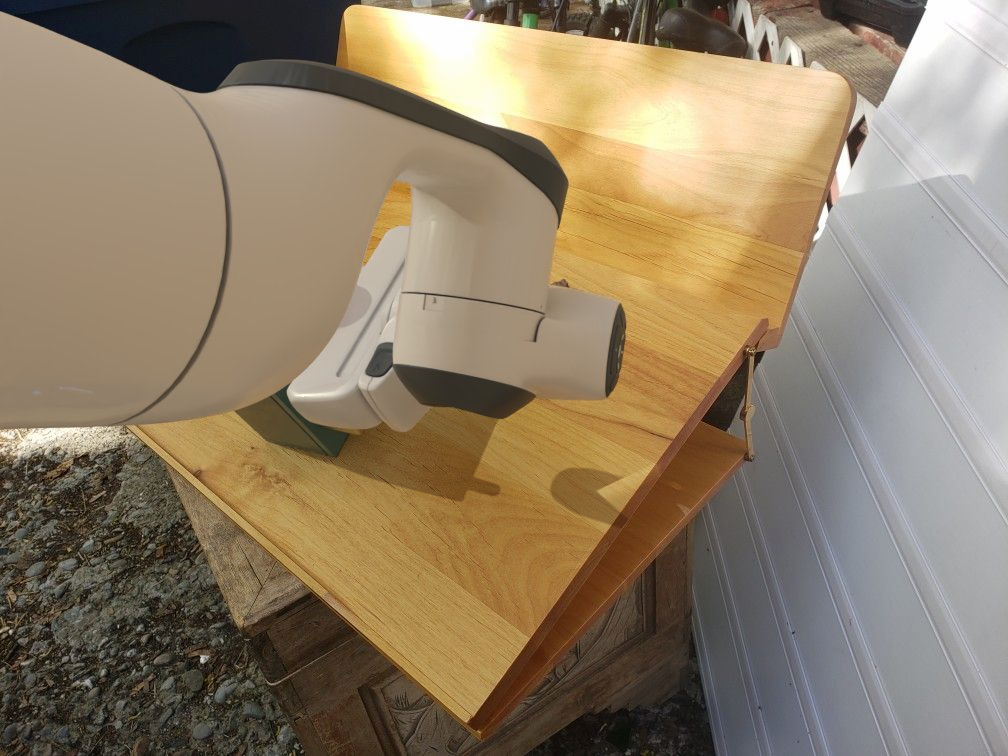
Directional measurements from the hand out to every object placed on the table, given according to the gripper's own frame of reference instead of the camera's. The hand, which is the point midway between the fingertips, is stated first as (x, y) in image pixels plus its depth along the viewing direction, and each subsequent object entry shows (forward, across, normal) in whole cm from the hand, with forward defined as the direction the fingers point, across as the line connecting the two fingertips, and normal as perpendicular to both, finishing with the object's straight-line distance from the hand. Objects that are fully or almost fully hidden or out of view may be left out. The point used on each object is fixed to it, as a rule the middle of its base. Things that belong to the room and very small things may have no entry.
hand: (308, 311), depth 62 cm
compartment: (+13, -3, +22) cm, 26 cm away
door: (+5, -3, +22) cm, 23 cm away
